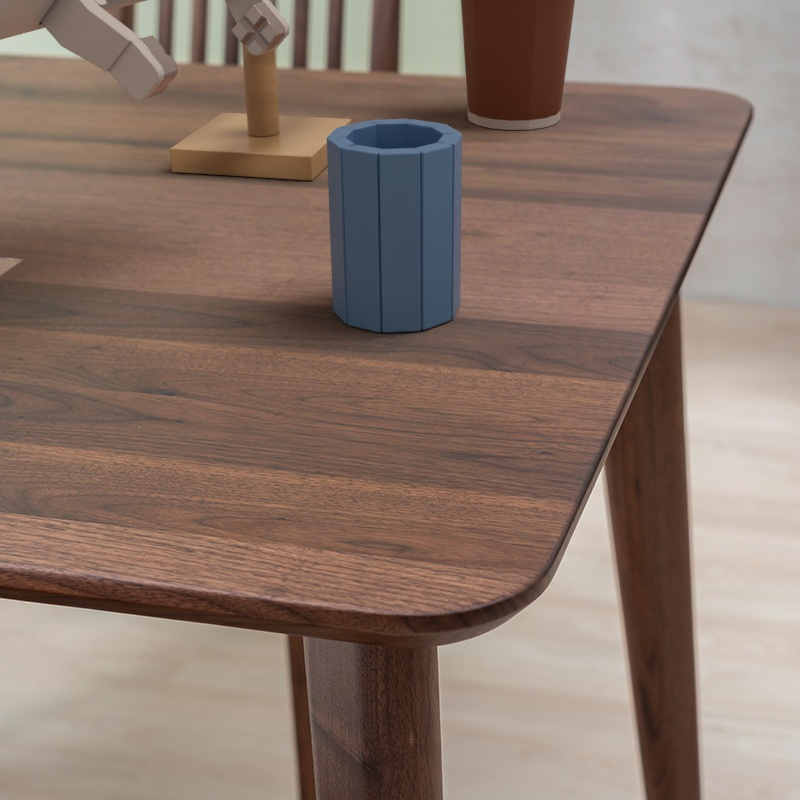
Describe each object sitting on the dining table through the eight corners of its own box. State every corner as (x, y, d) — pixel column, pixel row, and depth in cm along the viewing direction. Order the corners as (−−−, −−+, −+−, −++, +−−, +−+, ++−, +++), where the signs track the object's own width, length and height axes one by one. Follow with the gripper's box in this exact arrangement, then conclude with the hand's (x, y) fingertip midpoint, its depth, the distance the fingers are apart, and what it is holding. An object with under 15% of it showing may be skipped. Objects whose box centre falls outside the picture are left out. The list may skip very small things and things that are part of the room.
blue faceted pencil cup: (319, 327, 56) (312, 150, 52) (354, 280, 61) (349, 115, 57) (443, 338, 54) (444, 157, 51) (468, 289, 59) (471, 121, 56)
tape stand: (171, 172, 77) (154, -6, 72) (223, 134, 85) (211, -29, 80) (312, 181, 75) (304, -1, 70) (352, 141, 83) (347, -25, 78)
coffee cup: (577, 137, 83) (588, -54, 78) (440, 132, 84) (441, -56, 79) (581, 104, 91) (591, -72, 86) (456, 100, 92) (458, -73, 87)
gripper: (-153, -249, 43) (117, 62, 44) (176, -245, 60) (366, -20, 60) (-219, -112, 47) (31, 173, 47) (108, -144, 63) (289, 67, 64)
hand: (221, 64), depth 54 cm, fingers open, 8 cm apart
